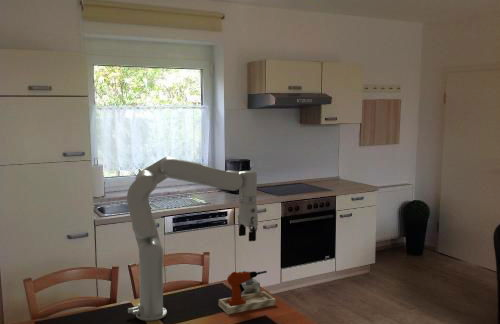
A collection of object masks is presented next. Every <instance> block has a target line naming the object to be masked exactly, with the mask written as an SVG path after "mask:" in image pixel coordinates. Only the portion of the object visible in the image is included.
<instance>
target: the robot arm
mask: <svg viewBox="0 0 500 324" xmlns="http://www.w3.org/2000/svg"><path fill="white" fill-rule="evenodd" d="M168 178H169V179H172V180H178V181H182V182H188V183H193V184H198V185H202V186H209V187H212V188H217V189H221V190H226V191H233V192H234V191H239V192H238V203H239V204H238V205H239V207H238V215H237V220H238V221H237V222H238V226H237V227H238V236H239V237H243V236H246V234H247V232H246V230H247V229H246V228H248V230H249V231H248V242H255V241H257V231H258V227H259V222H258V220H259V219H258V205H257V196H258V195H257V194H258V193H257V192H258V189H257V188H258V187H257V186H258V185H257V184H258V182H257V181H258V180H257V179H258V174H257V172H256V171H254V170H242V171H238V170H229V169H228V170H221V169H218V168H214V167H212V166H209V165H207V164H203V163H200V162H195V161H190V160H185V159H181V158H177V157H176V158H175V157H173V156H171V155H169V156H164V157H163V158H161V159H159V160H158V161H156V162H154V163H152V164H150V165H149V166H147V167H145V168H144V169H142V170H141V171H139V172H138V173H137V175H136V176H135V180H134V181H133V182H132V183H131V185H130V186H129V189H128V190H127V194H126V203H127V208H128V212H129V217H130V219H131V227H132V231H133V234H134V236H135V240H136V243H137V247H138V248H137V249H138V259H139V262H138V263H139V265H138V266H139V267H138V270H139V273H138V274H139V279H138V280H139V303H137V305H136V306H135V307H128V308H127V313H128V314H132V315H135V317H136V318H137V319H138V320H141V321H145V322H146V321H149V322H152V321H157V320H160V319H163V318H165V317H166V316H167V313H168V311H167V309H166V308H165V307H164V276H163V275H164V272H163V271H164V249H163V246H162V243H161V239H160V235H159V232H158V228H157V223H156V220H155V218H154V215H153V213H152V209H151V204H150V200H149V199H150V195H151V193H152V192H154V191H155V190H156V188H157V186H158V184H160V183H162V182H163V181H165V180H166V179H168Z"/></svg>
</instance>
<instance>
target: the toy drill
mask: <svg viewBox="0 0 500 324" xmlns="http://www.w3.org/2000/svg"><path fill="white" fill-rule="evenodd" d="M267 272H268V271H267V270H263V271H255V270H254V271H245V270H243V271H239V272H236V271H233V272H231V273H230V274H228V276H227V278H226V279H227V280H226V281H227V283H228V285H230V286H231V296H230V297H231V299H229V305H230V306H236V305H241V304H246V301H245V299H242V297H241V293H242V292H243V291H244V290H245V289H244V288H243V287H242V285H241V284H242V283H244V282H246V281H248V280H249V279H251V278H253V279H254V278H257V276H258V275H259V276H260V275H262V274H267Z"/></svg>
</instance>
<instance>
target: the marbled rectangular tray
mask: <svg viewBox="0 0 500 324" xmlns="http://www.w3.org/2000/svg"><path fill="white" fill-rule="evenodd" d="M231 297H232V296H230V297H225V298H219V299H218V306H219V308H221V310H223V312H225V313H226V314H227V315H231V314H237V313H242V312H246V311H247V312H248V311H251V310H253V311H254V310H257V309H262V308H267V307H271V306H272V307H273V306H276V298H275V297H273V296H272V295H270V294H269V293H268V292H266V291H260V292H257V293H252V294H246V295H241V297H242V299H245V301H246V304H241V305H236V306H230V305H229V299H231Z"/></svg>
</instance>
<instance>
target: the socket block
mask: <svg viewBox="0 0 500 324" xmlns="http://www.w3.org/2000/svg"><path fill="white" fill-rule="evenodd" d="M241 285H242V287H243V288H244V289H245V290H244V291H243V292H242V293H241V295H246V294H252V293H257V292H261V283H260V282H259V281H258V280H257V279H255V278H254V277H253V278H252V283H248V284H246V283H245V282H244V283H242V284H241Z"/></svg>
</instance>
